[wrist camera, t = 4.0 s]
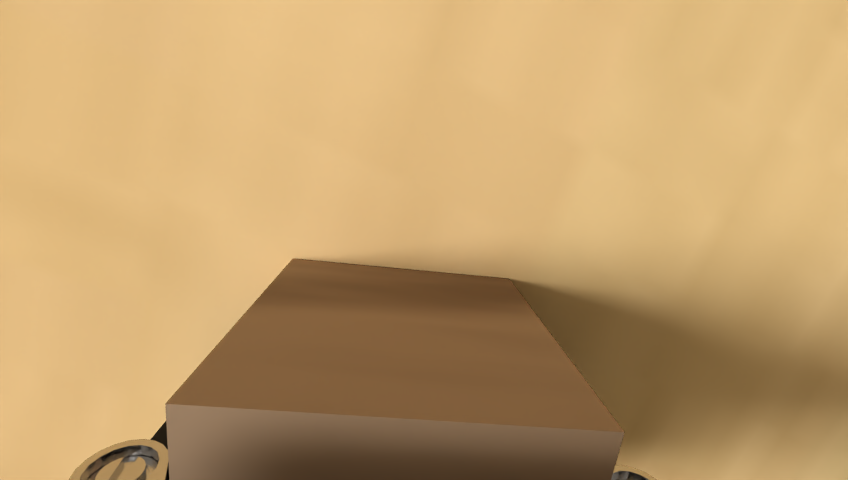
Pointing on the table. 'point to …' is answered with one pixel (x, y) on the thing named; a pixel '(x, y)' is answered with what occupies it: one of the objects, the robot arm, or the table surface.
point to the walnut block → (388, 386)
